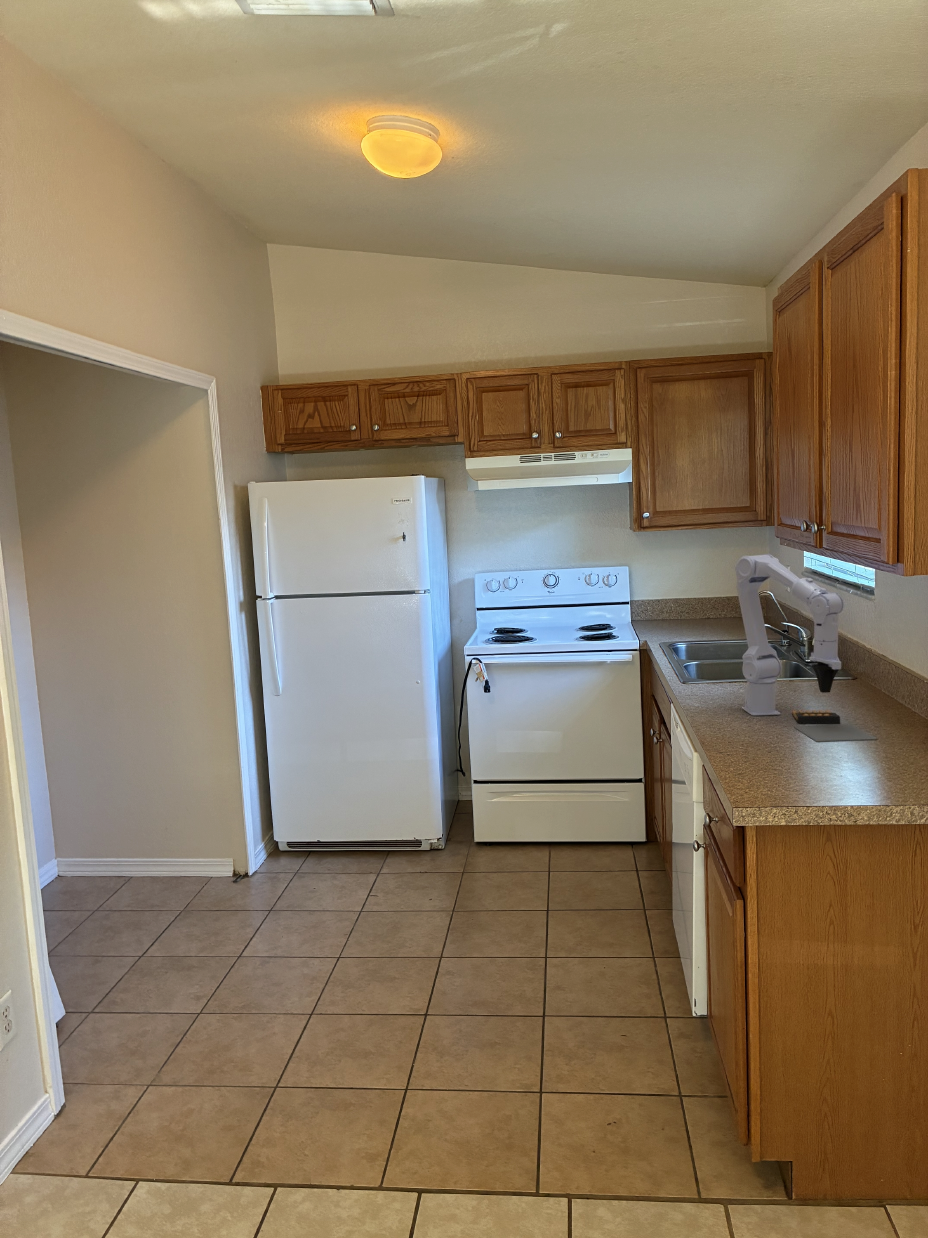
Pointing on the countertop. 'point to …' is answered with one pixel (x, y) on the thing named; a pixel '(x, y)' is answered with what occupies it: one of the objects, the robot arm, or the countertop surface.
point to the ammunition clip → (816, 717)
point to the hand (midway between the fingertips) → (825, 692)
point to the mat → (834, 733)
